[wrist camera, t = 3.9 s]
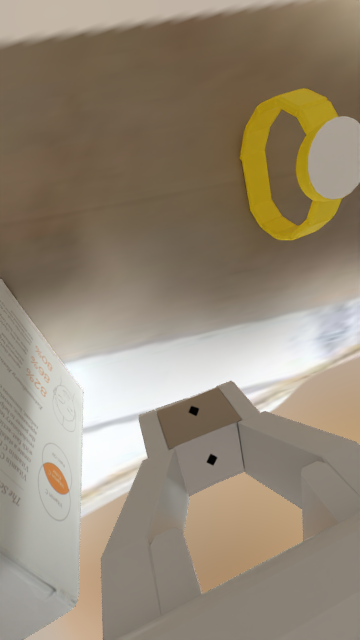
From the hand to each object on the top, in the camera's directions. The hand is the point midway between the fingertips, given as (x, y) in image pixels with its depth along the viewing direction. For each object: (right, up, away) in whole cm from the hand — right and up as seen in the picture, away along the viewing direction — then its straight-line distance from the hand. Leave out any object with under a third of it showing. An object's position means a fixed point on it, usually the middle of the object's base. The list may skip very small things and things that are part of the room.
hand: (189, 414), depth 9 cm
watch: (+4, +11, +7) cm, 13 cm away
